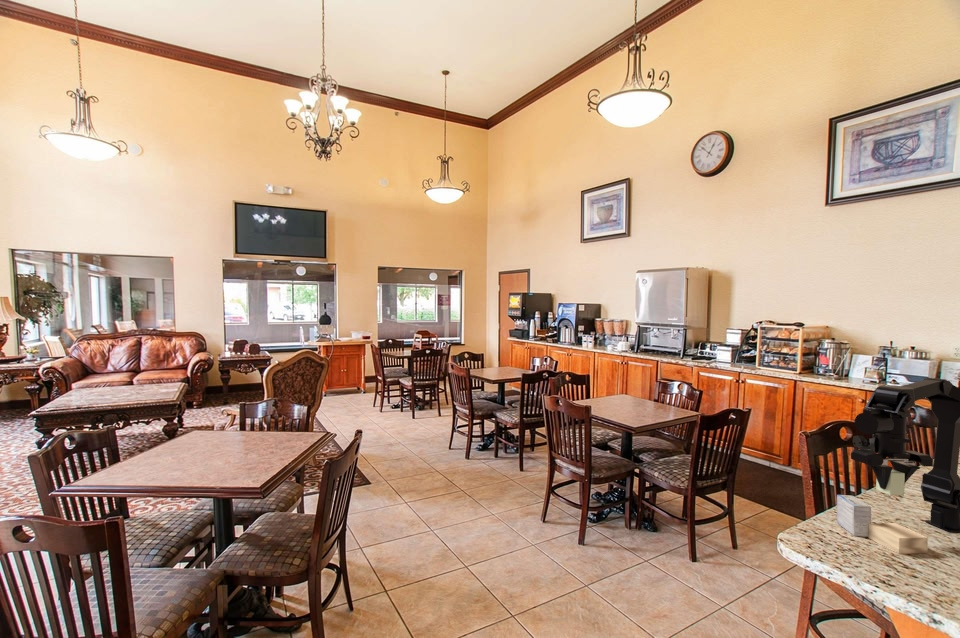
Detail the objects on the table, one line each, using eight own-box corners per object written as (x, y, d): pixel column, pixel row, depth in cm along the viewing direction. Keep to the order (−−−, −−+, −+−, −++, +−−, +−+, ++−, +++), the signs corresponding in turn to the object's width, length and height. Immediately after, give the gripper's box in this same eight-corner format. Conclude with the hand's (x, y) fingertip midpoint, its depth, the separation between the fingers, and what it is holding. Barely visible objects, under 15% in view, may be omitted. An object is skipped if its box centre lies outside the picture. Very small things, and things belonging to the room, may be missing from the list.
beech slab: (895, 537, 120) (895, 523, 120) (927, 552, 112) (927, 537, 112) (868, 538, 119) (868, 523, 119) (899, 553, 111) (899, 538, 111)
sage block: (889, 489, 122) (890, 468, 122) (904, 495, 118) (904, 473, 118) (876, 489, 122) (876, 468, 122) (890, 495, 118) (890, 473, 118)
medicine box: (871, 538, 119) (872, 506, 119) (853, 536, 120) (853, 505, 120) (853, 525, 127) (853, 495, 127) (836, 523, 128) (836, 494, 128)
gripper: (894, 426, 129) (892, 478, 129) (834, 425, 128) (833, 477, 128) (935, 436, 118) (934, 493, 117) (870, 434, 117) (869, 492, 116)
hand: (890, 488), depth 120 cm, fingers closed on sage block, 4 cm apart
